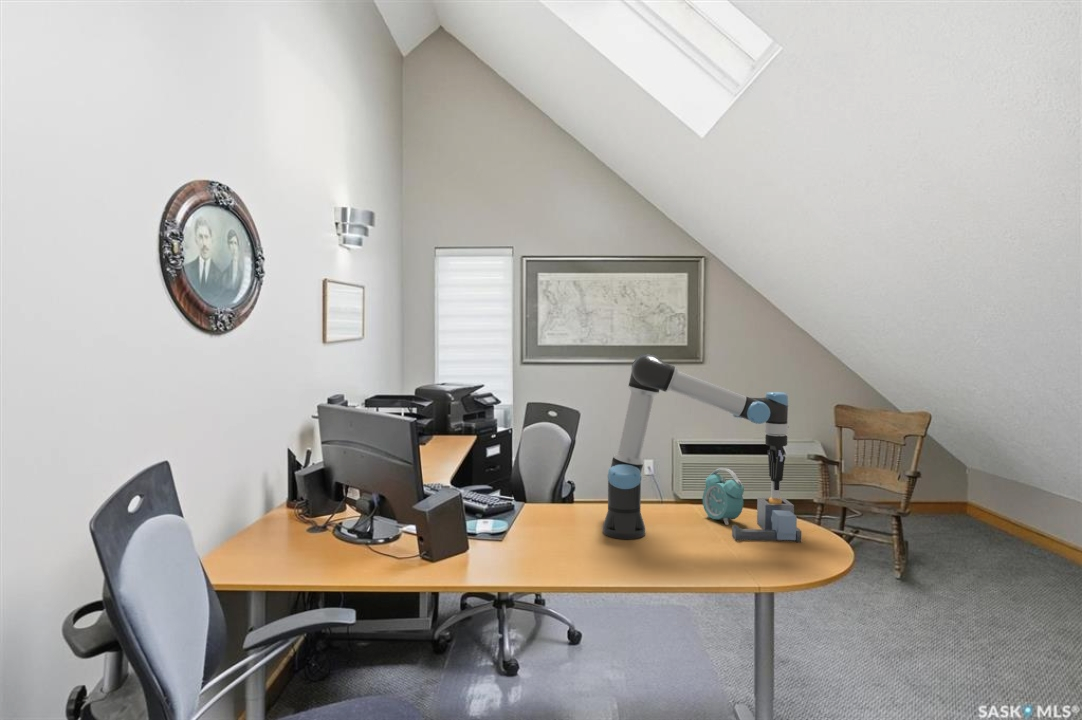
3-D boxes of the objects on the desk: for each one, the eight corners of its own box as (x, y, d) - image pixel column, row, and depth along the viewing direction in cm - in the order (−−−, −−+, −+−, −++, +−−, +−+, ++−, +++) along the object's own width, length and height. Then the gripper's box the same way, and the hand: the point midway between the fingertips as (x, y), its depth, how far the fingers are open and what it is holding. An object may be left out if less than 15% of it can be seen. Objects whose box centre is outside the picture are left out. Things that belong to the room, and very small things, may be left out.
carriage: (778, 540, 204) (778, 516, 204) (771, 533, 211) (772, 510, 211) (796, 540, 203) (796, 516, 203) (789, 534, 210) (789, 510, 210)
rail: (735, 540, 206) (735, 529, 206) (732, 536, 211) (732, 524, 211) (801, 542, 204) (801, 531, 204) (796, 537, 209) (796, 526, 209)
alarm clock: (697, 515, 236) (698, 465, 235) (716, 512, 240) (717, 463, 239) (728, 527, 220) (729, 474, 220) (748, 524, 224) (748, 471, 224)
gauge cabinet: (765, 532, 215) (766, 505, 214) (757, 523, 225) (757, 497, 225) (794, 533, 214) (794, 505, 214) (784, 524, 225) (784, 498, 224)
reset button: (770, 509, 218) (771, 500, 218) (767, 506, 222) (767, 497, 222) (783, 510, 217) (783, 500, 217) (779, 506, 222) (779, 497, 222)
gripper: (793, 437, 212) (792, 503, 213) (781, 431, 225) (780, 493, 226) (771, 437, 213) (770, 502, 213) (760, 431, 226) (759, 493, 226)
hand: (775, 498), depth 220 cm, fingers closed
